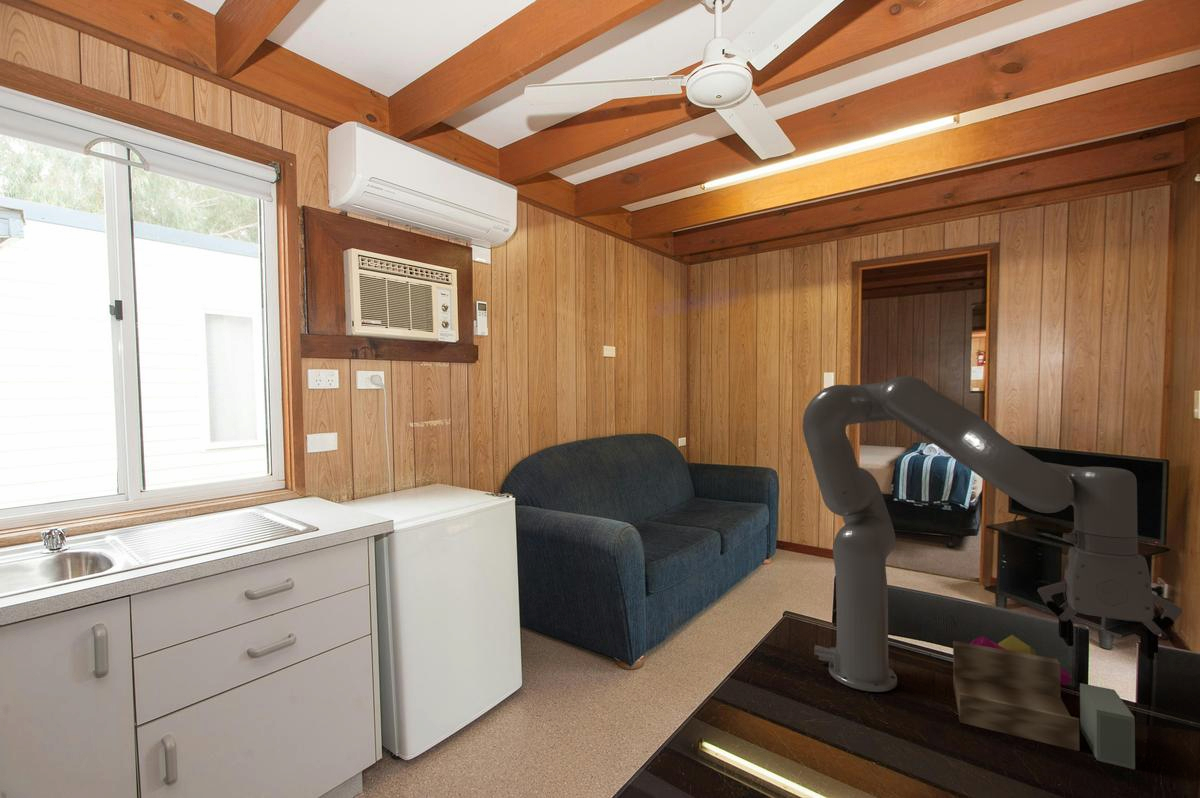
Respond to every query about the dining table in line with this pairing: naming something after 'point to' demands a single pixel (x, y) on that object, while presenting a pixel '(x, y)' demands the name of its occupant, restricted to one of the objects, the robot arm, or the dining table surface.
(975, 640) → the toy
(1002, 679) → the wall board
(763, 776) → the dining table surface
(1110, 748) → the cabinet block
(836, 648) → the robot arm
